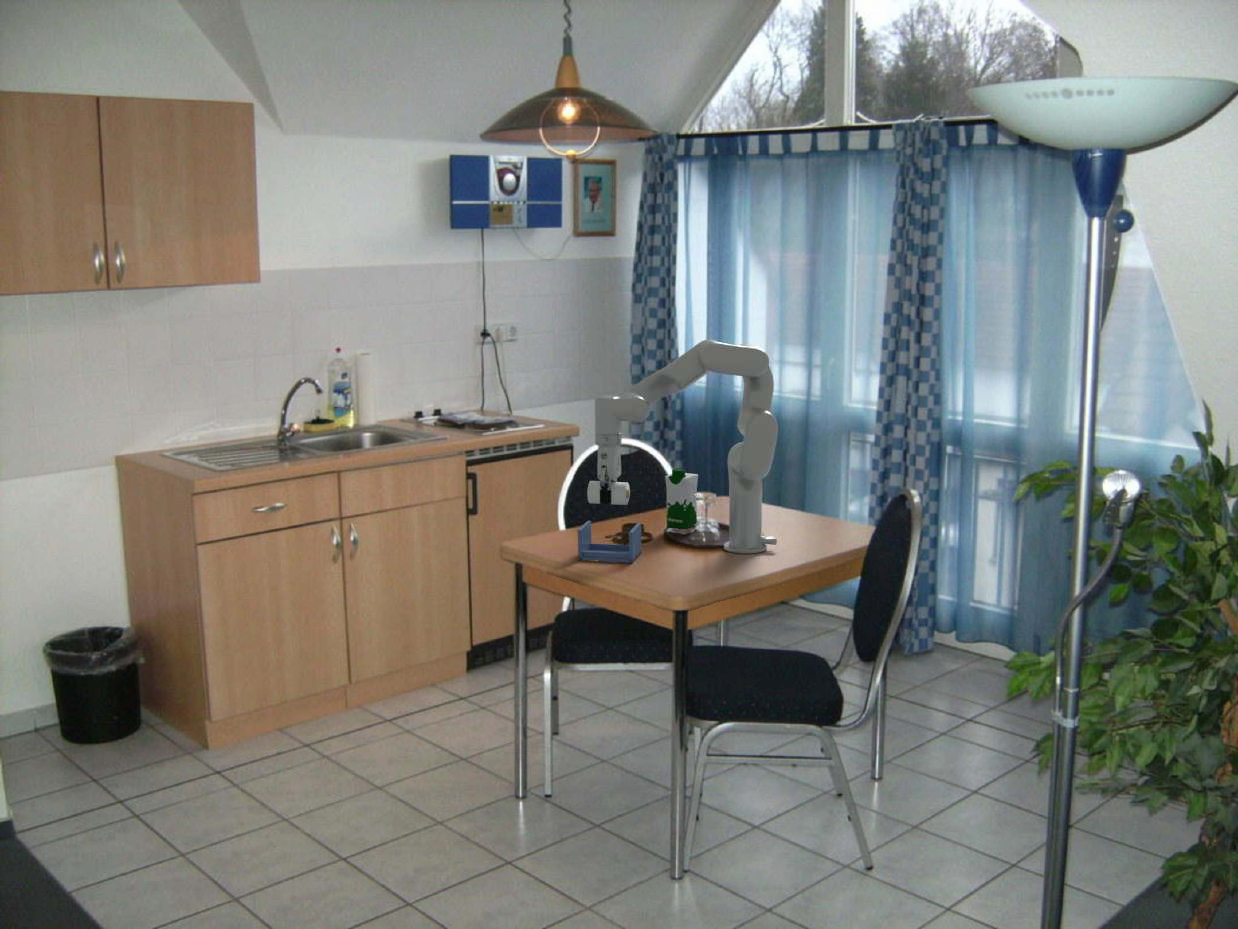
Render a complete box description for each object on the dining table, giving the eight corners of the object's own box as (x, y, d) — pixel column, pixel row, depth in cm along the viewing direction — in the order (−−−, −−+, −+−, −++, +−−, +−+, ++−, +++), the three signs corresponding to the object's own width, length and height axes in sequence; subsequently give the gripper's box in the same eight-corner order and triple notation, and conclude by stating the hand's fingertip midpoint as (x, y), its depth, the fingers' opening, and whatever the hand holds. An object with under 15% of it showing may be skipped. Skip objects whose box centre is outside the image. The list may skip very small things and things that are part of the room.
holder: (641, 553, 370) (641, 523, 368) (632, 563, 359) (632, 532, 358) (588, 550, 374) (587, 520, 372) (578, 560, 363) (577, 529, 361)
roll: (631, 502, 365) (631, 480, 364) (626, 507, 359) (626, 485, 358) (591, 500, 368) (590, 478, 367) (585, 505, 362) (585, 483, 360)
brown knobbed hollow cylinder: (668, 541, 386) (668, 522, 385) (627, 555, 370) (627, 535, 369) (623, 533, 396) (623, 514, 395) (581, 546, 381) (581, 526, 380)
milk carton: (662, 533, 393) (662, 469, 389) (677, 526, 401) (676, 464, 397) (687, 536, 389) (687, 472, 385) (701, 530, 396) (701, 467, 392)
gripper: (614, 444, 351) (614, 508, 354) (628, 434, 367) (628, 495, 371) (587, 443, 352) (588, 507, 356) (602, 433, 369) (603, 494, 372)
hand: (608, 500), depth 363 cm, fingers closed on roll, 6 cm apart
